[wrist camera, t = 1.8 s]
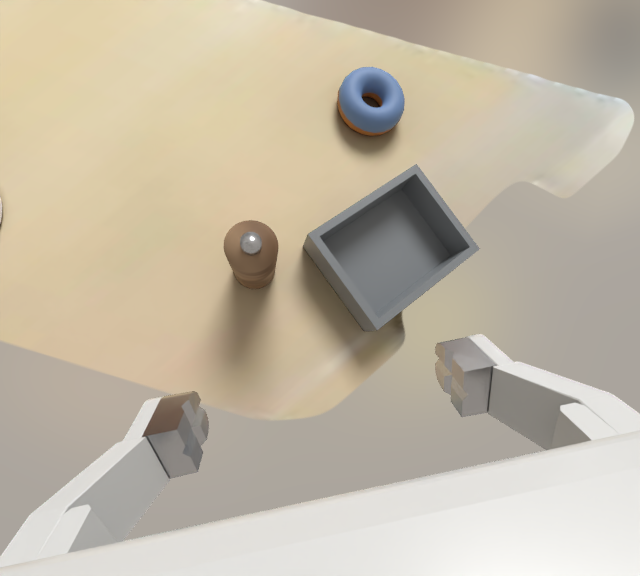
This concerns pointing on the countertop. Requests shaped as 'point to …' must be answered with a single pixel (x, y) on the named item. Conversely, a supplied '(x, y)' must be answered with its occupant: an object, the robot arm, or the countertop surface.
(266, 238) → the pepper mill
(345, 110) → the doughnut
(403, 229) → the bin
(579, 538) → the robot arm
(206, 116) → the countertop surface
